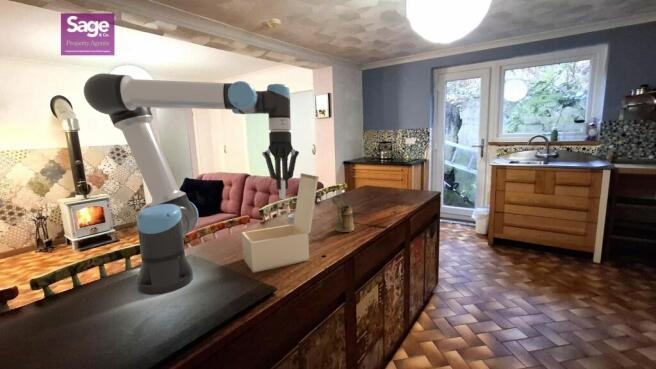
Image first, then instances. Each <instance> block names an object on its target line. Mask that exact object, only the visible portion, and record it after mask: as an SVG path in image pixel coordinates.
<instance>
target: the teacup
mask: <svg viewBox="0 0 656 369" xmlns="http://www.w3.org/2000/svg"><path fill="white" fill-rule="evenodd" d="M294 217H295V212H294V213H290V214H289V215H287V218H288V225H292V224H294ZM297 227H298V226H297ZM302 230H303V229H302Z"/></svg>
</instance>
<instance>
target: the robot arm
mask: <svg viewBox="0 0 656 369" xmlns="http://www.w3.org/2000/svg"><path fill="white" fill-rule="evenodd" d="M83 95H84V99H85V100H86V102H87V103H88V105H89V106H90V107H91V108H92V109H94V110H95V111H97V112H99V113H101V114H104V115H108V117H109V118H110V121H111V123H112V125H113V127H114V128H115V129H117V130H120V131H121V132H122V135H123V136H124V139H125V142H126V143H127V146H128V147H129V150H130V152H131V155H132V156H133V159H134V162H135V163H136V166H137V168H138V170H139V172H140V174H141V177H142V178H143V181H144V183H145V186H146V188H147V190H148V193H149V194H150V196H151V197H150V198H151V202H150V204H149V206H148V207H146V208H143V209H141V211H138V213H137V216H136V229H137V234H138V242H139V249H140V256H141V257H140V259H141V265H140V269H139V272H138V276H137V282H136V283H137V284H136V285H137V290H138V292H140V293H142V294H144V295H145V294H146V295H147V294H148V295H156V294H164V293H169V292H172V291H176V290H178V288H179V289H182V288H183V287H185V286H186V285H189V284H190V283H191V282H192V281H193V279H194V272H193V268H192V266H191V264H190V262H189V260H188V257H187V256H186V252H185V243H184V238H185V236H186V235H187V234H190V232H192V230H194V228H196V225H197V223H198V220H199V211H198V208H197V207H196V205H195V204H194V203H193V202H191V201H190V200H189V198H188V196H187V193H186V192H184V191H182V190H180V189H179V187H178V184H177V182H176V180H175V177H174V175H173V173H172V170H171V167H170V165H169V163H168V161H167V158H166V156H165V154H164V153H163V152H164V151H163V149H162V146H161V144H160V142H159V140H158V138H157V135H156V133H155V130H154V128H153V126H152V121H153V119H154V115H153V113H152V110H151V108H161V109H162V108H164V109H165V108H167V109H174V108H175V109H202V110H204V109H205V110H207V109H209V110H231V111H232V113H233V114H235V115H237V114H238V115H255V114H256V115H257V114H258V115H259V114H260V115H261V114H265V115H268V130H269V131H270V132H269V133H268V134H269V135H268V136H269V138H268V139H269V145H268V148H267V150H265V151H263V152H262V153H261V154H262V156H263V157H264V159H265V163H266V166H267V169H268V172H269V176H270V178H271V179H272V180H275V184H276V186H275V187H276V190H278V192H279V193H278V198H279V199H280V200H286V198H287V195H286V194H287V193H286V190H288V188H289V185H288V184H289V182H288V181H289V179H292V178H293V176H294V172H295V167H296V161H297V158H298V156H299V154H300V151H298V150H296V149H294V148H293V147H294V146H293V145H292V133H291V130H292V127H291V126H292V124H291V122H292V121H291V120H292V119H291V95H290V87H289V86H288V85H287V84H283V83H271V84H268V85H267V89H266V90H256V89H255V87H254V86H253V85H251V83H248V82H247V81H243V80H238V81H235V82H234V83H233V82H231V83H230V82H211V81H210V82H209V81H189V80H188V81H184V80H163V79H162V80H161V79H159V80H158V79H137V78H135V79H134V78H133V77H132V76H131V75H127V74H113V73H104V72H103V73H98V74H94V75H92V76H91V77H89V78H88V79H87V80H86V82H85V83H84V87H83ZM271 155H272V157H274V158H273V159H274V165H273V160H272V158H271ZM289 156H290V160H289ZM288 160H289V163H288ZM288 164H289V165H288ZM191 280H192V281H191ZM190 281H191V282H190ZM189 282H190V283H189Z"/></svg>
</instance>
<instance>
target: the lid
mask: <svg viewBox="0 0 656 369" xmlns="http://www.w3.org/2000/svg"><path fill="white" fill-rule="evenodd" d="M318 182H319V176H318V175H312V174H308V173H301V172H300V177H299V182H298V190H297V195H296V196H297V197H296V204H295V211H294V213H295V217H294V225H296V226H298V227H299V228H301V229H303V230H304V231H306V232H307V233H308V234H310V233H311V230H312V223H313V216H314V209H315V203H316V202H315V201H316V196H317V189H318V184H319V183H318Z"/></svg>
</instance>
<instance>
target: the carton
mask: <svg viewBox="0 0 656 369" xmlns="http://www.w3.org/2000/svg"><path fill="white" fill-rule="evenodd" d="M309 241H310V240H309V233H308V232H306V231H304V230H302V229H301V228H299V227H297V226H296V225H294V224H292V225H289V224H285V225H280V226H274V227H268V228H262V229H255V230H249V231H243V232H241V243H242V244H241V245H242V256H243V261H244V262H245V264H246V265H247V266H248V268H249V269H250V270H251V272H252V273H253V274H254V273H258V272H262V271H267V270H273V269H276V268H280V267H286V266H290V265H295V264H298V263H299V264H300V263H304V262H308V261H310V248H309V247H310V246H309V243H310V242H309Z"/></svg>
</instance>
